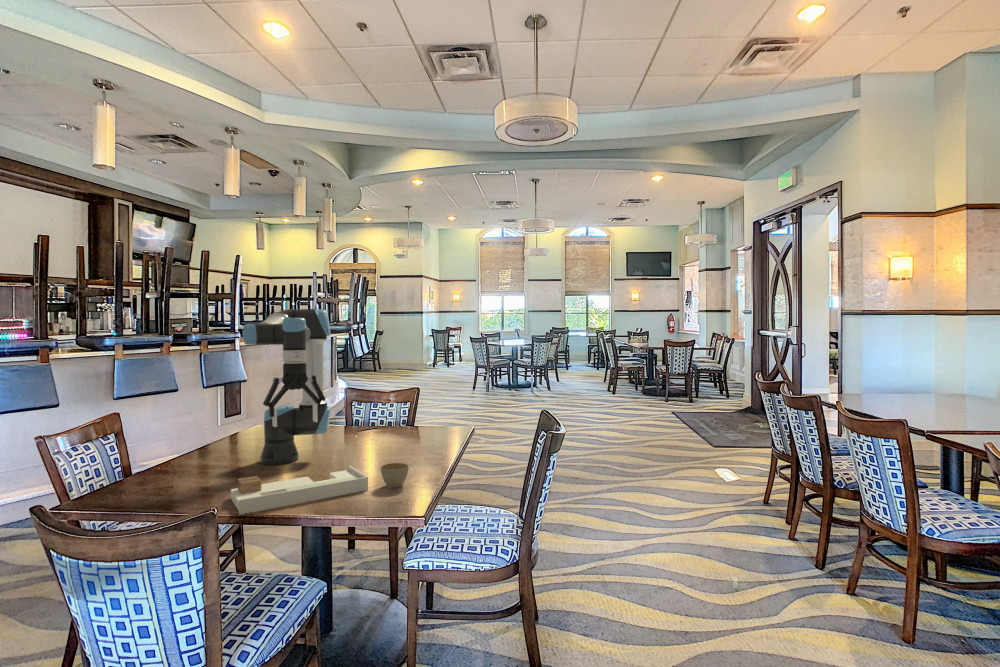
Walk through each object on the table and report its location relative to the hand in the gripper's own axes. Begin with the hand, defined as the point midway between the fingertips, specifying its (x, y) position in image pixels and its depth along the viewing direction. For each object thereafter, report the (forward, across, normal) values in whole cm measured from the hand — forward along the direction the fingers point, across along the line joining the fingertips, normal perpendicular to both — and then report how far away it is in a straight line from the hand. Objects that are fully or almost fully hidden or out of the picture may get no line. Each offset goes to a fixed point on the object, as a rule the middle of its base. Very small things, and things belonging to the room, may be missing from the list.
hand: (295, 424), depth 183 cm
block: (+21, -14, +2) cm, 25 cm away
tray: (+24, 0, -3) cm, 24 cm away
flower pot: (+24, +30, -15) cm, 41 cm away
